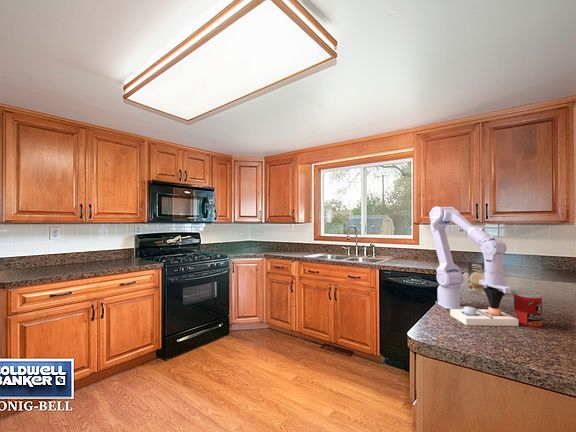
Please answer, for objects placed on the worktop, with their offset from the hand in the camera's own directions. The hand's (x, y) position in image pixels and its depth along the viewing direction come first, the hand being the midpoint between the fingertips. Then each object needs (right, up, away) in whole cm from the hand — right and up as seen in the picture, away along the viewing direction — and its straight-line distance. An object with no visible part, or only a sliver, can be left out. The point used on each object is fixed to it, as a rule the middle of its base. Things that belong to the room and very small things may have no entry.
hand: (494, 308), depth 105 cm
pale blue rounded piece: (-9, -4, 0) cm, 10 cm away
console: (-5, -5, 0) cm, 6 cm away
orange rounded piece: (0, -4, 0) cm, 4 cm away
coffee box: (+23, -6, +41) cm, 47 cm away
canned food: (+10, -5, -4) cm, 11 cm away
